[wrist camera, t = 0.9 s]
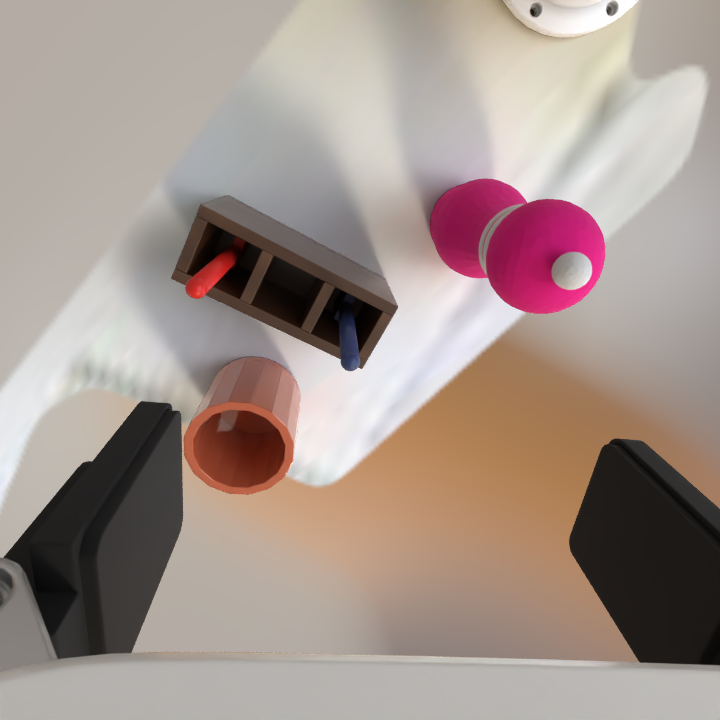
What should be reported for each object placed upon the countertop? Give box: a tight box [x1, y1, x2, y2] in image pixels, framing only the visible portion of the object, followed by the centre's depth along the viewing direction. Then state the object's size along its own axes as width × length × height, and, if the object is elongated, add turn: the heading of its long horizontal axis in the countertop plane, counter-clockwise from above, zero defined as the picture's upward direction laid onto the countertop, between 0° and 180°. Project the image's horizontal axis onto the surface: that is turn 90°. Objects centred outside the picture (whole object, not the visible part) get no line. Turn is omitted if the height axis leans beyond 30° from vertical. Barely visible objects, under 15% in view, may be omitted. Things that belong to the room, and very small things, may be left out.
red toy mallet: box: [185, 236, 250, 299], centre depth 32 cm, size 3×1×16 cm, turn 151°
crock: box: [184, 357, 300, 495], centre depth 41 cm, size 8×8×9 cm
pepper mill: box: [430, 179, 605, 314], centre depth 31 cm, size 7×7×20 cm
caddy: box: [171, 195, 398, 369], centre depth 37 cm, size 5×15×9 cm, turn 62°
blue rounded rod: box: [333, 290, 360, 371], centre depth 34 cm, size 3×1×16 cm, turn 151°
